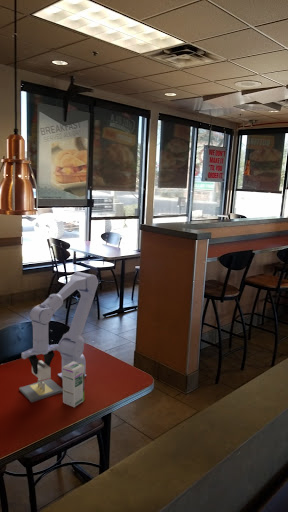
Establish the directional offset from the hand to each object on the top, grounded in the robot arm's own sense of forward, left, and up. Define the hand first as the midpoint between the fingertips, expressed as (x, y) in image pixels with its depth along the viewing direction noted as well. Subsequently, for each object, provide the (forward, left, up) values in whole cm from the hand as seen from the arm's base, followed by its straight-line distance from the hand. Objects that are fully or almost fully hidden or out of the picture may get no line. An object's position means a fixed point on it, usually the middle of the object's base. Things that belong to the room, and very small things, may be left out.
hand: (41, 371), depth 153 cm
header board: (0, 0, -8) cm, 8 cm away
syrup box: (-6, +14, -8) cm, 18 cm away
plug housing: (0, 0, -1) cm, 1 cm away
